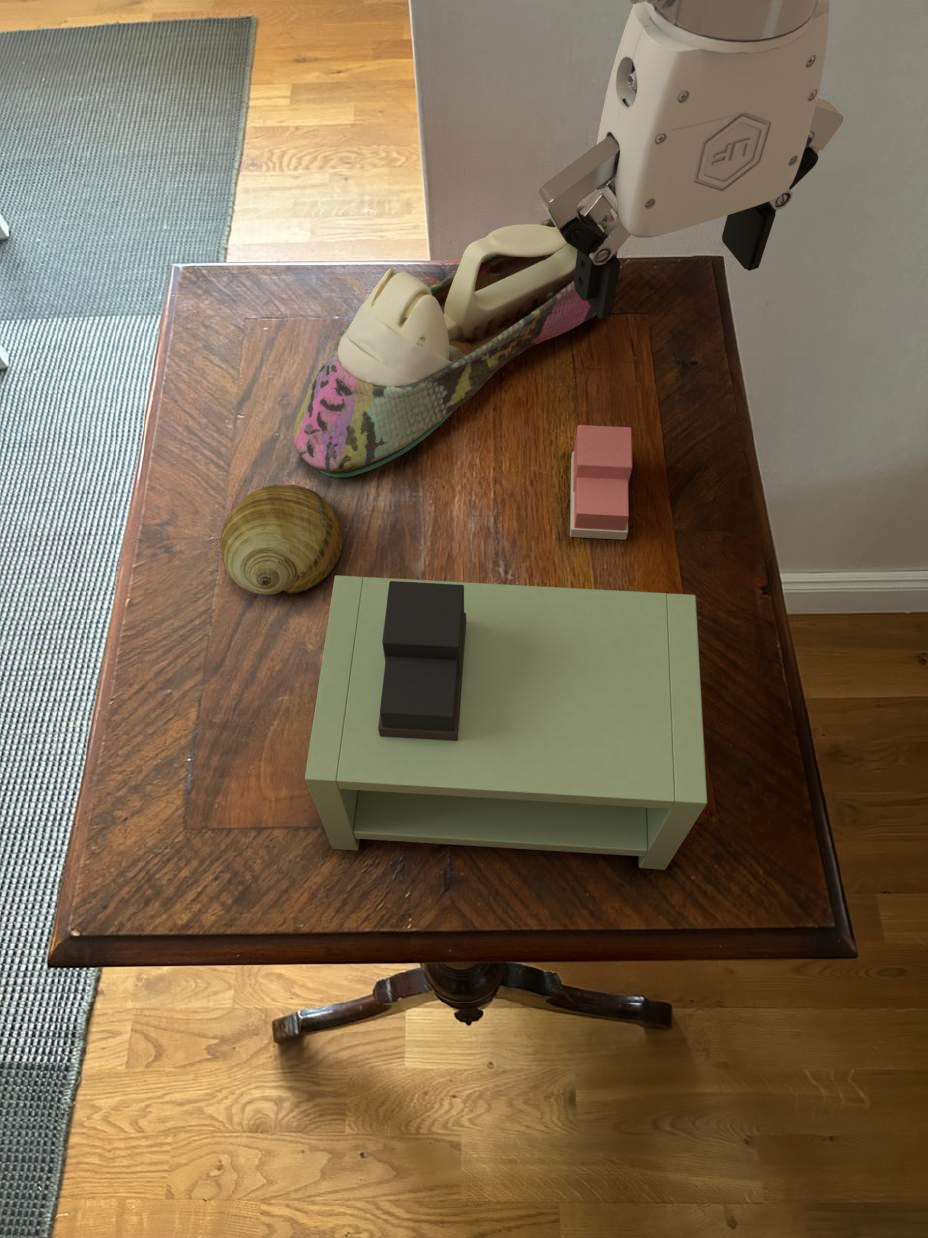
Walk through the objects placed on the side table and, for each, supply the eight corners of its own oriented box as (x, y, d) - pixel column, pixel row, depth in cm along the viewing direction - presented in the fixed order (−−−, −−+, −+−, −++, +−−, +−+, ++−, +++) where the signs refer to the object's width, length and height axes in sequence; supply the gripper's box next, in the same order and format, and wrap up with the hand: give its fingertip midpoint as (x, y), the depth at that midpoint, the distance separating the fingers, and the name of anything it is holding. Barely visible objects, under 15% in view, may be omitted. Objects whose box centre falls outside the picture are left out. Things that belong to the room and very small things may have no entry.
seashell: (292, 541, 77) (207, 485, 72) (358, 491, 73) (274, 430, 68) (290, 640, 70) (196, 587, 65) (362, 591, 67) (270, 531, 62)
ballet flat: (259, 423, 77) (230, 317, 68) (557, 247, 86) (568, 131, 77) (341, 511, 73) (322, 410, 64) (643, 316, 82) (666, 203, 73)
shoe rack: (659, 688, 66) (695, 594, 56) (665, 870, 60) (707, 803, 50) (355, 670, 67) (334, 574, 56) (332, 849, 61) (304, 779, 50)
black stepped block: (392, 617, 55) (387, 576, 51) (466, 621, 55) (466, 580, 51) (379, 736, 51) (372, 702, 48) (457, 741, 51) (457, 707, 48)
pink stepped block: (571, 459, 75) (576, 421, 72) (624, 461, 75) (632, 424, 72) (569, 537, 72) (575, 502, 68) (626, 540, 72) (634, 505, 68)
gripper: (599, 66, 41) (562, 366, 56) (951, -29, 44) (828, 278, 59) (520, -29, 44) (506, 278, 59) (853, -111, 48) (760, 199, 62)
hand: (667, 277), depth 59 cm, fingers open, 9 cm apart
